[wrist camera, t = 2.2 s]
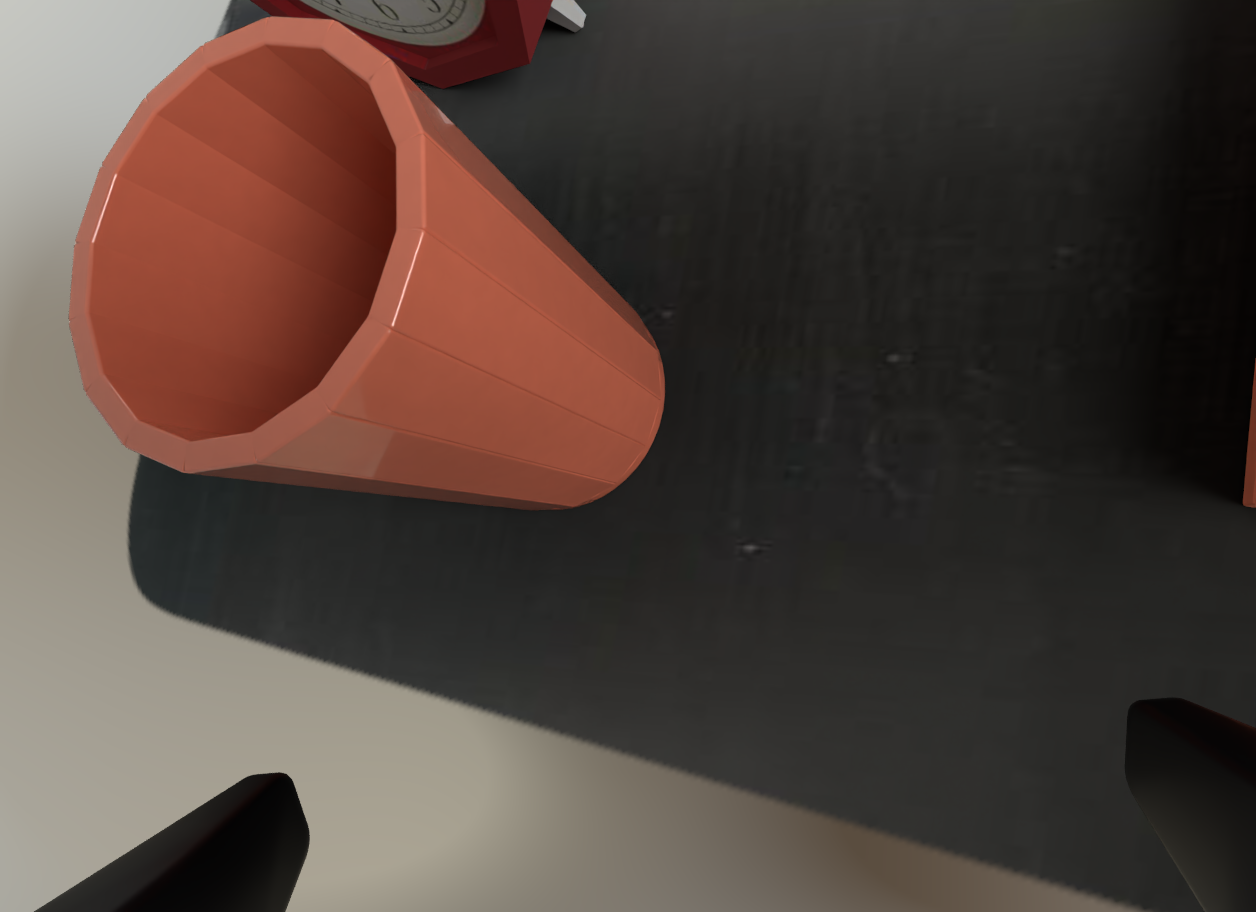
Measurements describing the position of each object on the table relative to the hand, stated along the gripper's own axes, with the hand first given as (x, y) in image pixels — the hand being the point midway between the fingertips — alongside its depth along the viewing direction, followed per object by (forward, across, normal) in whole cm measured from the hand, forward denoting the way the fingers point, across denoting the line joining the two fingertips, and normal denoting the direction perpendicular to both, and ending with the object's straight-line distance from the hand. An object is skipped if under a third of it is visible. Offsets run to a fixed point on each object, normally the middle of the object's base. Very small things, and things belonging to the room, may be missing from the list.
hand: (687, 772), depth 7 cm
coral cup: (+15, +4, -2) cm, 16 cm away
